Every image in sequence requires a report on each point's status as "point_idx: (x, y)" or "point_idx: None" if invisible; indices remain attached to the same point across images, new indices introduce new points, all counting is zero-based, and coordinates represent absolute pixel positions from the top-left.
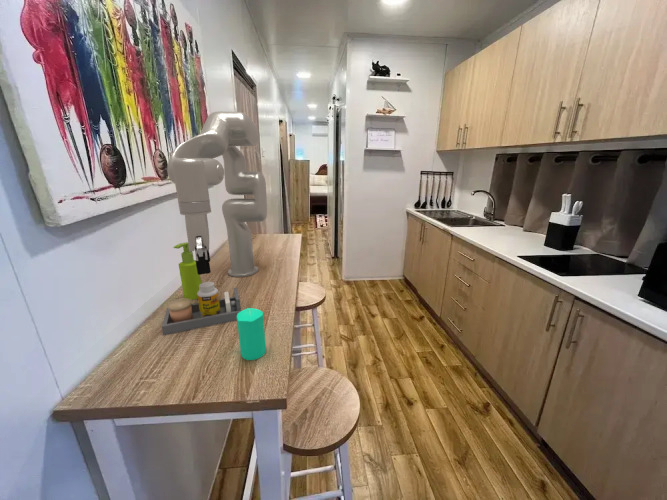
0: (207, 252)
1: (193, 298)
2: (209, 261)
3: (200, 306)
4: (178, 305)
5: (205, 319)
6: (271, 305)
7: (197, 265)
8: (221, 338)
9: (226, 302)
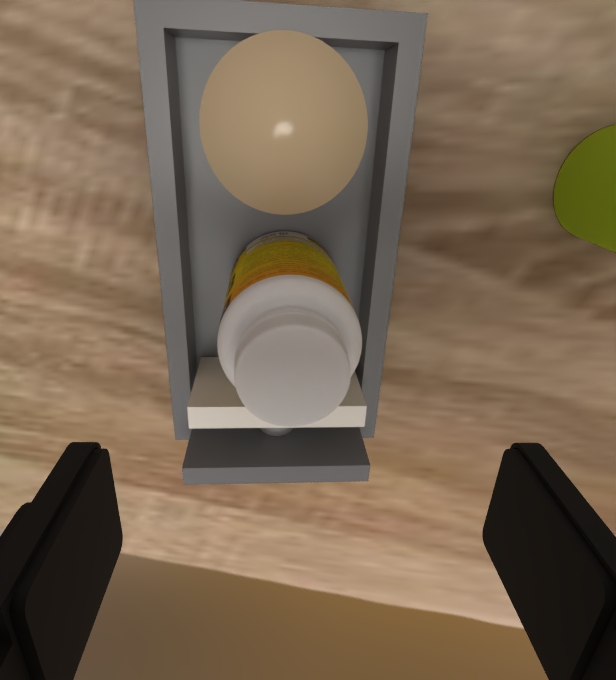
0: (540, 643)
1: (568, 187)
2: (487, 532)
3: (251, 261)
4: (236, 123)
5: (161, 268)
6: (293, 520)
7: (18, 542)
8: (63, 311)
9: (202, 412)
